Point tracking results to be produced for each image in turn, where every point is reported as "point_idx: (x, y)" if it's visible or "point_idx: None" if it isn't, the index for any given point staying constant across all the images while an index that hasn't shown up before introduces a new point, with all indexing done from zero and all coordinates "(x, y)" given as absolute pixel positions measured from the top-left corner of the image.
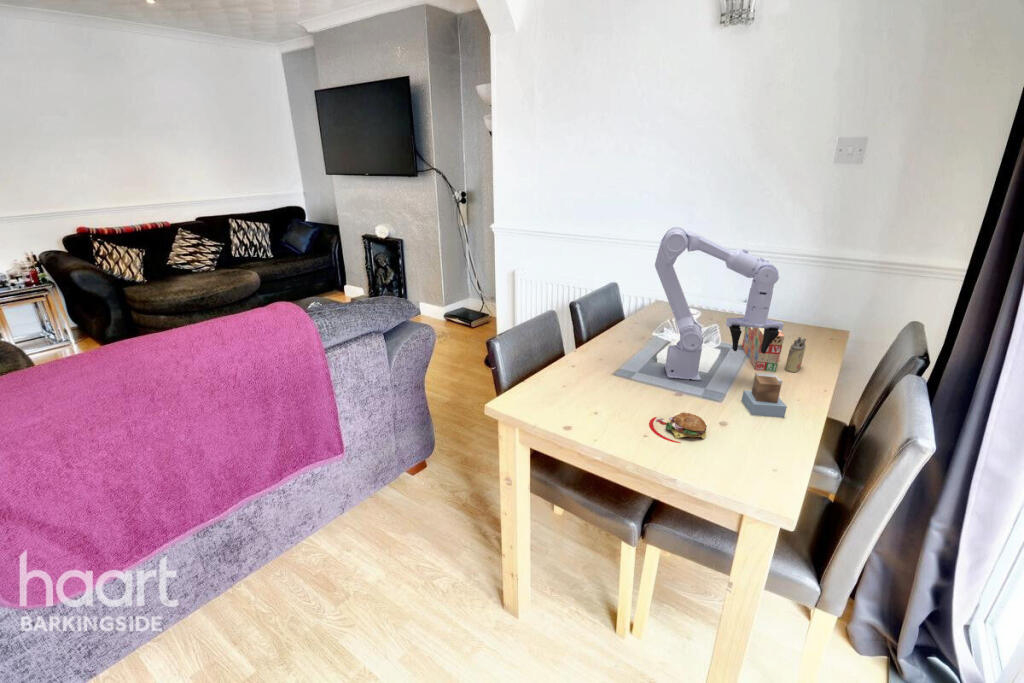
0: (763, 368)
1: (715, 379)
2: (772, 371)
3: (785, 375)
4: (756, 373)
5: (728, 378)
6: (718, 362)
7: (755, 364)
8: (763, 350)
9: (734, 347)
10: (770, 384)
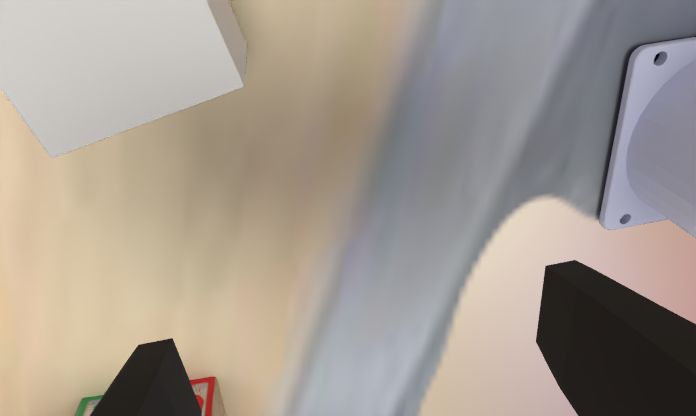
0: None
1: (504, 124)
2: (102, 396)
3: (11, 376)
4: (232, 81)
5: (406, 178)
6: (423, 383)
7: (214, 410)
8: (161, 376)
9: (623, 295)
10: None
